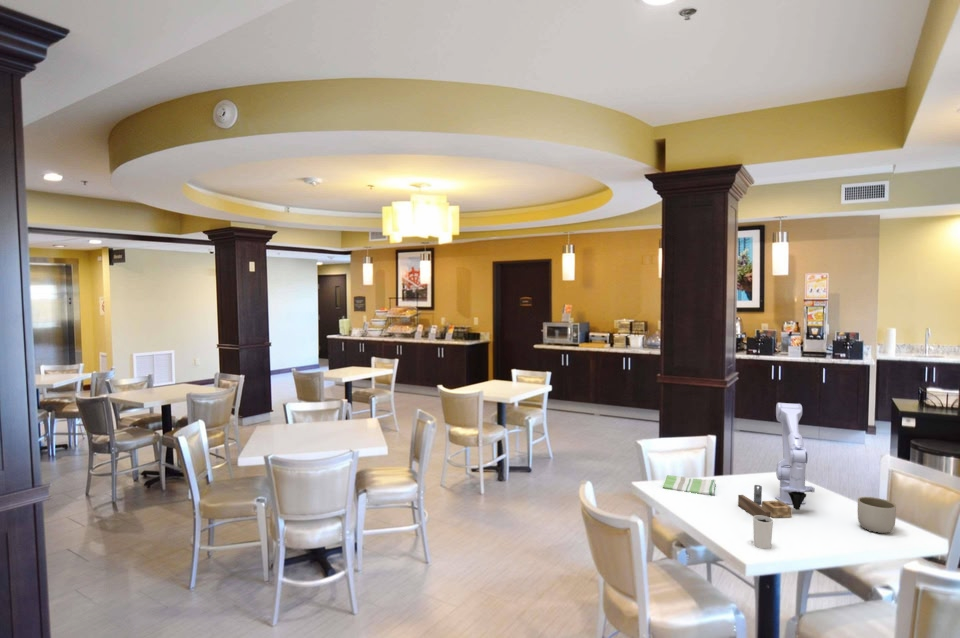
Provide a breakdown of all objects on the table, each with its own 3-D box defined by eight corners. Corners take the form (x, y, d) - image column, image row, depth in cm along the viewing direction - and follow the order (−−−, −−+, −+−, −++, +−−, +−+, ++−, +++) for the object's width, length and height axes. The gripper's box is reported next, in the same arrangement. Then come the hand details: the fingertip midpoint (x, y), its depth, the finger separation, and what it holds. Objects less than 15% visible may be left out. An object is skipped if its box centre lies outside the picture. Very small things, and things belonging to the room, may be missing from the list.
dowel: (758, 502, 251) (759, 484, 251) (762, 504, 248) (763, 487, 248) (752, 502, 251) (752, 485, 251) (756, 505, 248) (756, 487, 248)
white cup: (750, 540, 212) (751, 514, 211) (770, 542, 210) (771, 516, 210) (754, 547, 206) (754, 521, 205) (774, 550, 204) (775, 523, 203)
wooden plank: (742, 505, 247) (742, 494, 247) (770, 524, 227) (770, 512, 227) (738, 506, 247) (738, 494, 247) (765, 524, 227) (765, 512, 227)
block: (779, 509, 242) (779, 500, 242) (791, 517, 234) (791, 507, 234) (761, 510, 241) (762, 501, 241) (773, 517, 234) (773, 508, 233)
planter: (875, 536, 216) (876, 509, 215) (849, 524, 228) (850, 497, 228) (903, 535, 218) (904, 507, 217) (876, 522, 230) (877, 496, 230)
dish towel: (714, 497, 259) (714, 489, 259) (662, 489, 269) (662, 482, 268) (716, 486, 274) (716, 479, 274) (667, 479, 284) (667, 472, 284)
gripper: (787, 480, 233) (786, 512, 234) (820, 480, 235) (819, 511, 235) (776, 475, 240) (776, 506, 241) (808, 474, 242) (807, 505, 242)
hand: (796, 508), depth 239 cm, fingers closed
